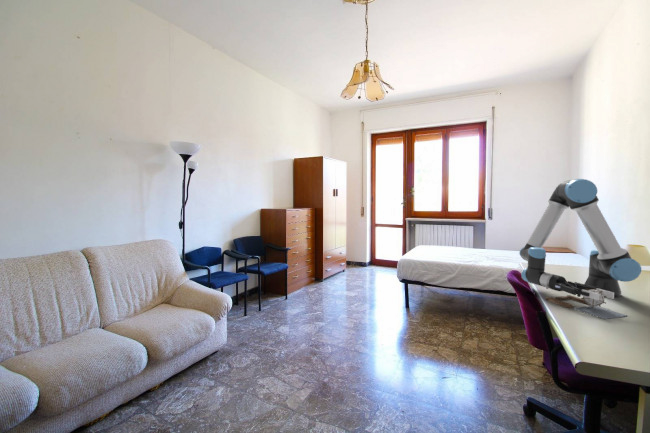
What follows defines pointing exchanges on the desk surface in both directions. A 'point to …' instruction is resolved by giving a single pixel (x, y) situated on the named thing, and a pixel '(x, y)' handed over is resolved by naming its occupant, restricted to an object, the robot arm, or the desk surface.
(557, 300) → the open frame
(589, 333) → the desk surface
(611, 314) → the mat
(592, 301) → the game die
